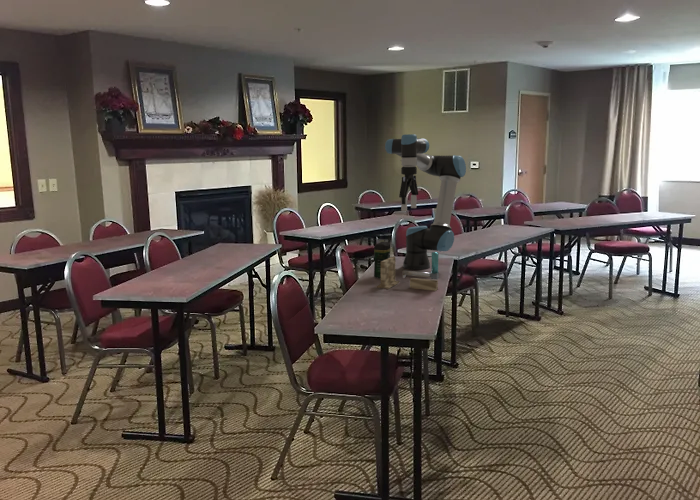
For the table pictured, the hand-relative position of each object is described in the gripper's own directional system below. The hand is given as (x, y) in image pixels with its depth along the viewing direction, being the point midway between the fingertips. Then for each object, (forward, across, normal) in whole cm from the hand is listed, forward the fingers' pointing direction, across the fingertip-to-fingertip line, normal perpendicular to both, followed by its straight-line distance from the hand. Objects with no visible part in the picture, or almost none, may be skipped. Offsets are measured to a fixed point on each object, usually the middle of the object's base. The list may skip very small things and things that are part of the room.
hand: (409, 209), depth 289 cm
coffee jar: (+37, -4, -16) cm, 40 cm away
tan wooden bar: (+36, +12, +12) cm, 40 cm away
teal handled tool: (+32, +12, +10) cm, 36 cm away
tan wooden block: (+36, +12, -6) cm, 39 cm away
